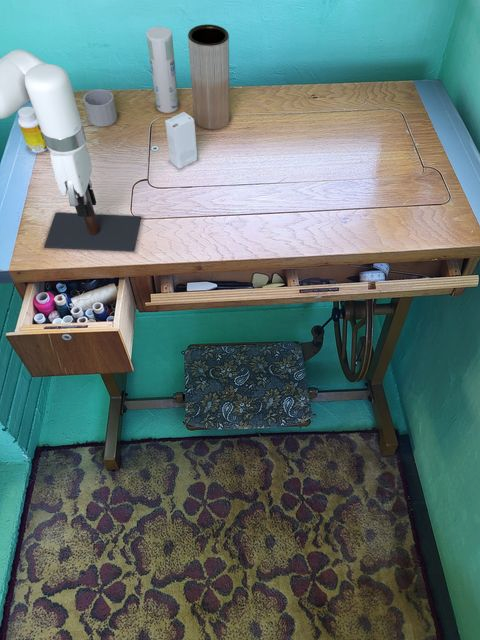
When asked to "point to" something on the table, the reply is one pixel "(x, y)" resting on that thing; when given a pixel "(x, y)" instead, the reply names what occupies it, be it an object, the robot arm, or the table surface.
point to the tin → (100, 107)
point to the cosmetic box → (181, 139)
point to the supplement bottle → (31, 130)
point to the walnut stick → (91, 221)
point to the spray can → (163, 68)
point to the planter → (210, 75)
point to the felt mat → (75, 235)
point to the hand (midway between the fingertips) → (87, 209)
